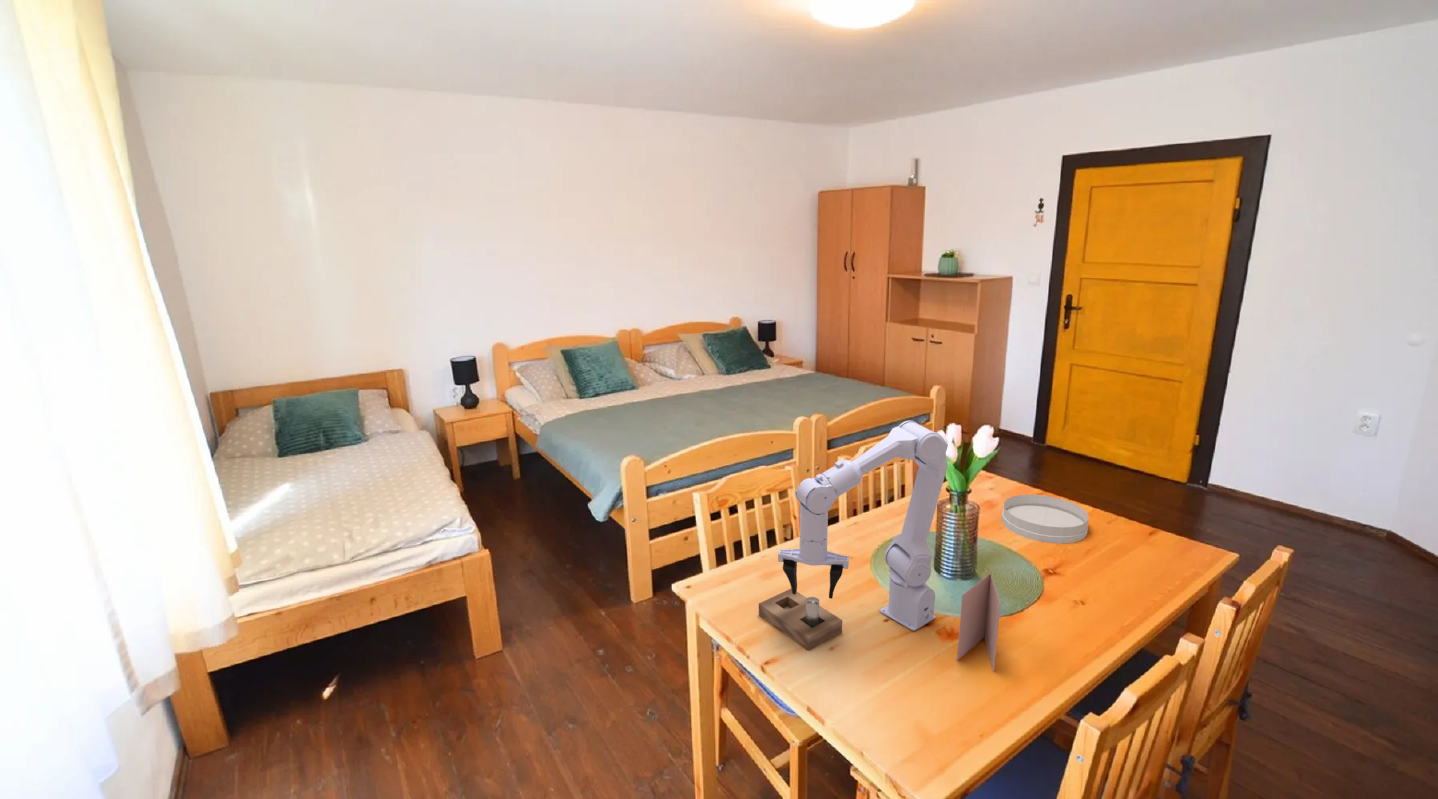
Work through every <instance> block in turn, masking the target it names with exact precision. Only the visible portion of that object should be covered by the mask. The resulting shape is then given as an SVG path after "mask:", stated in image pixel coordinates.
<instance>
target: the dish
mask: <svg viewBox="0 0 1438 799" xmlns="http://www.w3.org/2000/svg"><path fill="white" fill-rule="evenodd" d="M1001 512H1002V513H1001V514H1002V515H1001V522H1002V524H1003V526H1004V527H1005V528H1006V529H1008V530H1009V531H1011V532H1013V533H1014V534H1016V535H1018V536H1021V537H1024V538H1027V539H1029V540H1033V541H1037V542H1042V543H1049V544H1073V543H1077V542H1080V541H1082V540H1084V539H1086V536H1087V535H1088V530H1089V525H1088V524H1089V520H1090V519H1089V514H1088V513H1087V512H1086V510H1085V509H1084V508H1082V507H1080V506H1079V505H1077V504H1075V503H1073V502H1071V501H1068V500H1066V499H1062V498H1060V497H1059V498H1058V497H1054V496H1049V495H1043V494H1018V495H1015V496H1014V495H1013V496H1011V497H1008V498H1007V499H1006V500H1005V501H1004V502H1003V509H1002V511H1001Z"/></svg>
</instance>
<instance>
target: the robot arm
mask: <svg viewBox="0 0 1438 799" xmlns="http://www.w3.org/2000/svg"><path fill="white" fill-rule="evenodd" d="M948 448H949V447H948V442H947V441H946V439H944V437H943V436H942V435H941V434H940V433H938V432H935V431H933V430H930V429H929V428H927V427H925V426H923V425H921V424H919V423H918V422H916V421H913V420H906V421H905V420H904V421H903V422H902V423H900V424H899V425H898V426H895V427H893V428H892V429H891V430H890V432H889V434H888V435H887V436H886V437H885V438H883V439H882V440H880V441H878V443H876V444H875V445H873V446H871V447H870V448H869V449H867V450H866V451H865V452H863V453H862V454H861V455H859V456H858V457H856V458H855V459H853V460H849V459H843V460H837V461H836V462H834V464H835V465H833V466H832V467H830V468H829V469H827V470H825V471H824V472H822V473H821V474H820V473H818V474H817V475H815V477H808V478H805V479H803V480H802V481H800V483H799V484H798V485H797V489H796V490H795V491H794V495H795V498H796V499H797V501H798V502H799V548H793V549H792V548H790V549H789V548H788V549H781V548H780V549H779V551H778V555H777V562H778V563H782V572H784V574H785V575H786V577H787V579H788V582H789V584H790V589H791V588H792V594H796V591H797V590H798V579H797V578H798V577H797V575H798V574H797V570H798V567H797V566H798V563H801V564H804V565H808V566H815V567H816V566H830V570H829V592H828V599H833V596H834V591H835V588H836V586H837V585H838V584H837V583H839V581H840V579H841V577H842V575H843V572H844V571H843V570H844V569H845V570H848V569H849V563H850V562H849V561H850V556H849V555H843V554H839V553H836V552H831V551H829V550H828V533H829V532H828V531H829V530H828V524H829V523H828V522H829V521H828V519H829V516H828V515H829V513H828V512H829V510H830V509H831V508H832V507H833V505H834V503H835V501H836V500H838V498H839V497H841V496H842V495H844V494H845V493H847V492H848V491H850V490H852V489H853V488H855V487H857V486H858V485H859V484H861V483H862V479H863V476H864V475H865V474H867V473H869V472H871V471H873V470H875V469H877V468H878V467H880V466H882V465H884V464H886V463H888V462H890V461H891V460H893V459H895V458H899V459H904V460H905V459H906V460H911V461H914V462H915V464H916V465H917V466H918V470H917V473H916V477H915V482H914V485H913V489H912V492H911V496H910V500H909V503H908V506H907V507H908V508H907V511H906V516H905V518H904V523H903V525H902V530H901V533H900V534H897V535H895V536H893V538H892V541H891V542H890V545H889V546H888V547H887V549H886V551H885V552H884V561H885V564H886V565H887V566H888V567H889V571H888V572H889V583H888V584H889V587H888V588H889V589H888V604H887V605H885V606H883V607H881V608H880V609H879V613H881V614H883V615H885V616H886V617H888V618H890V619H891V620H893V621H896V622H897V623H899V624H900V625H902V626H904V627H906V628H907V629H908V630H911V631H914V632H915V631H916V630H919V629H920V628H922V627H923V626H925V625H927V624H928V623H930V622H932V621H934V620H935V619H936V615H935V614H934V613H935V602H936V593H935V590H934V589H933V588H931V587H930V586H929V585H928V584H927V582H928V581H929V579H930V578H931V575H932V566H931V561H932V557H933V556H932V554H931V550H930V548H929V545H928V538H929V534H930V531H931V526H932V524H933V520H934V516H935V513H936V511H937V510H936V508H937V506H938V502H939V498H940V495H941V491H942V488H943V484H944V480H945V477H946V474H947V473H946V472H947V470H948V459H947V450H948ZM797 592H798V591H797Z"/></svg>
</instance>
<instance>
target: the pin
mask: <svg viewBox="0 0 1438 799" xmlns="http://www.w3.org/2000/svg"><path fill="white" fill-rule="evenodd" d="M806 598H807V599H806V624H807V625H808V626H810V627H811V628H813V627H815V626H817V625H819V606H820V599H819V598H818V597H815V596H809V597H806Z"/></svg>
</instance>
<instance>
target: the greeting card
mask: <svg viewBox="0 0 1438 799" xmlns="http://www.w3.org/2000/svg"><path fill="white" fill-rule="evenodd" d="M961 596H962V597H961V605H960V606H961V608H960V620H959V632H958V633H959V634H958V643H957V656H956V661H957V662H958V661H959V660H960V659H961V658H962V657H964V655H966V654H967V653H968V652H969V651H970V650H971V649H972V648H974V647H975V646H976V645H977V644H978V643H980V641H982V640H983V639H984V640H985V644H986V648H987V652H988V655H989V660H990V664H991V669H992V672H993V673H994V671H995V666H996V665H995V663H996V654H997V644H998V643H997V642H998V633H999V624H1000V615H1001V614H1000V613H1001V601H1000V598H999V595H998V591H997V588H996V585H995V582H994V579H993V576H992V574H991V573H989V574H987V575H986V576H985V577H983V579H981V580H979V582H977V583H976V584H974V585H973V586H972V587H971V588H969V589H968V590H966V591H965V592H964V593H962V595H961Z"/></svg>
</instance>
